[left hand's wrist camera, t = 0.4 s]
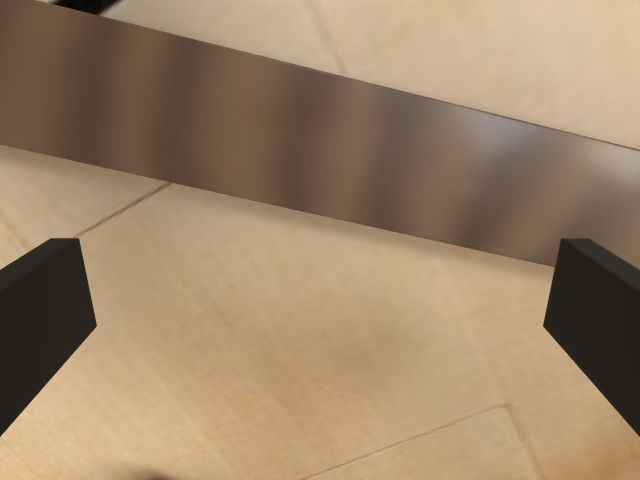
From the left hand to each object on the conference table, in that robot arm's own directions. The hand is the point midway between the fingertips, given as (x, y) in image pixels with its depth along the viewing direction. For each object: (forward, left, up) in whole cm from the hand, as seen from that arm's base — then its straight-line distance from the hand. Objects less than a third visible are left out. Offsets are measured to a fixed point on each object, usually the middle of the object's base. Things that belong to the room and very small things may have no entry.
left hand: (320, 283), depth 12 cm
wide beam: (-1, -2, -27) cm, 27 cm away
